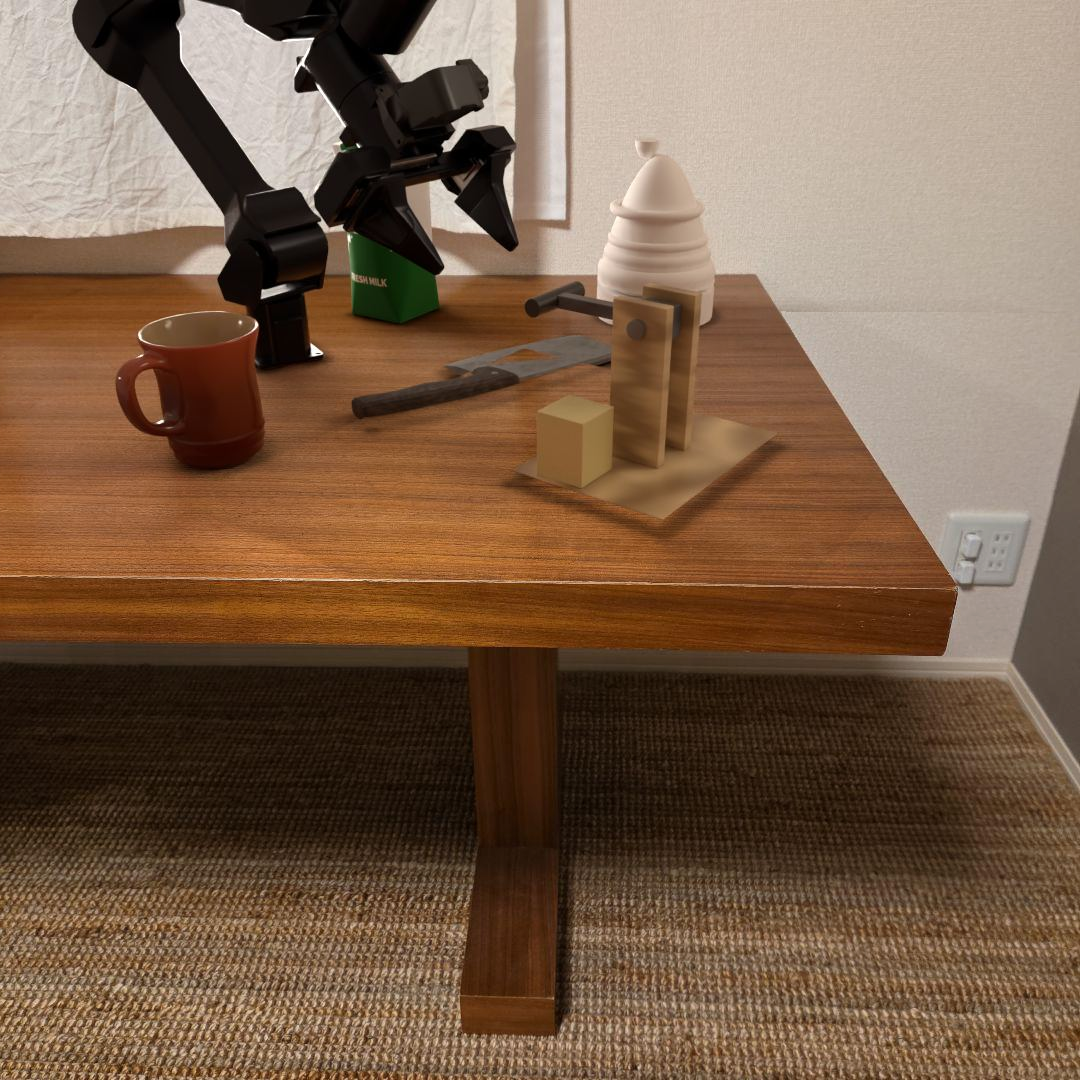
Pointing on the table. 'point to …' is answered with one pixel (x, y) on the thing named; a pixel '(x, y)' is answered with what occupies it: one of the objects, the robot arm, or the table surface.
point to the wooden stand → (660, 411)
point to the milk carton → (391, 270)
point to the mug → (200, 387)
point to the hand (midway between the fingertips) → (479, 259)
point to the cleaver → (486, 375)
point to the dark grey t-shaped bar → (586, 304)
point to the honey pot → (657, 235)
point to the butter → (574, 440)
